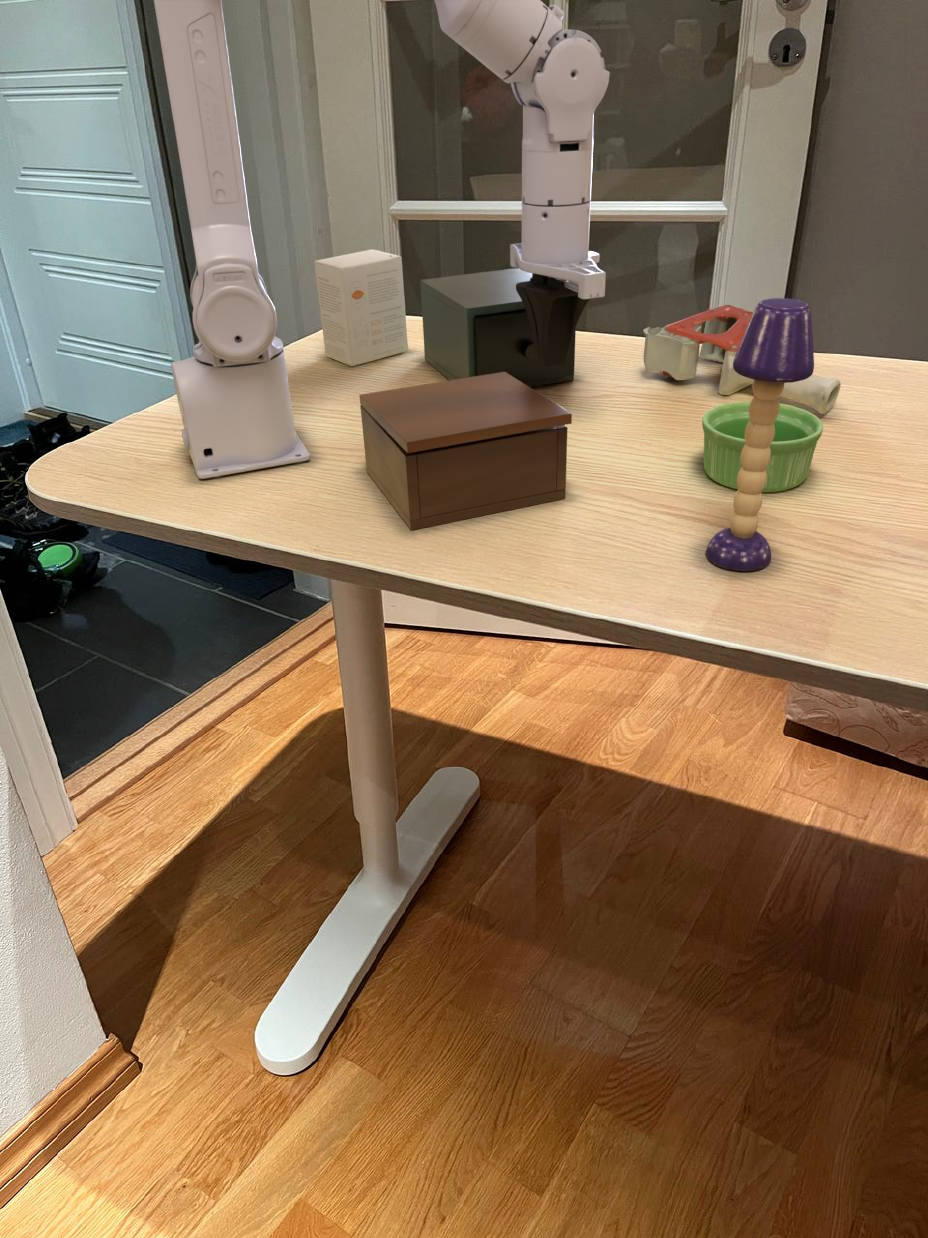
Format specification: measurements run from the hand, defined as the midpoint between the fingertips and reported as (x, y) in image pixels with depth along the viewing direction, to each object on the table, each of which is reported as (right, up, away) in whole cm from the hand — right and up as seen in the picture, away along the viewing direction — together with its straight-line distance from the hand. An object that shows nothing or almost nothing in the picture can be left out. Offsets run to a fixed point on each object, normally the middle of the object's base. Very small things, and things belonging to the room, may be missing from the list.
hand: (552, 363), depth 82 cm
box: (-8, -13, -10) cm, 18 cm away
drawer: (-4, +3, +12) cm, 13 cm away
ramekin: (+15, -12, -10) cm, 22 cm away
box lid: (-8, -8, -14) cm, 18 cm away
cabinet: (-5, +3, +14) cm, 15 cm away
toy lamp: (+11, -19, -21) cm, 31 cm away
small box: (-19, +7, +21) cm, 29 cm away
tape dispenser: (+19, 0, +8) cm, 20 cm away
